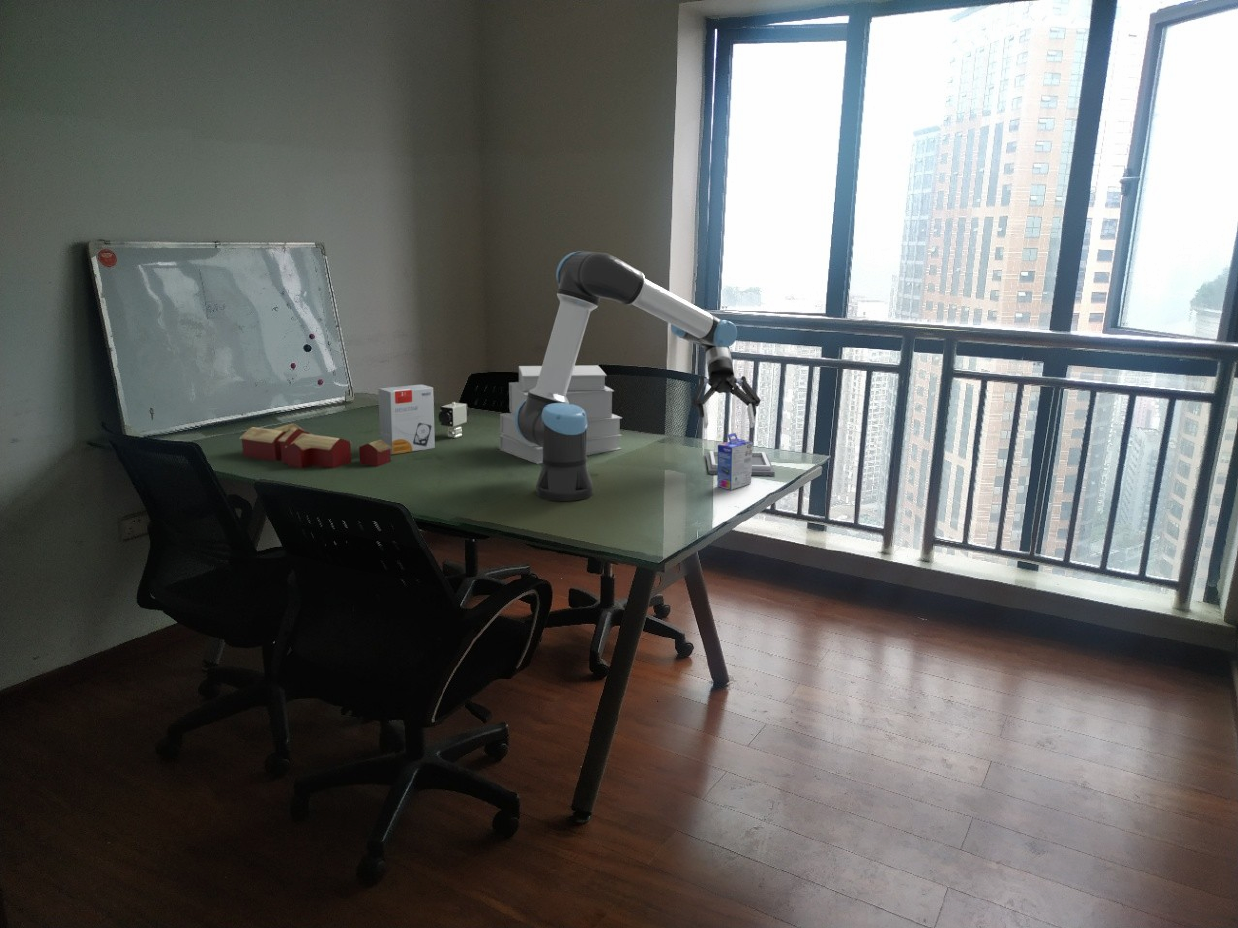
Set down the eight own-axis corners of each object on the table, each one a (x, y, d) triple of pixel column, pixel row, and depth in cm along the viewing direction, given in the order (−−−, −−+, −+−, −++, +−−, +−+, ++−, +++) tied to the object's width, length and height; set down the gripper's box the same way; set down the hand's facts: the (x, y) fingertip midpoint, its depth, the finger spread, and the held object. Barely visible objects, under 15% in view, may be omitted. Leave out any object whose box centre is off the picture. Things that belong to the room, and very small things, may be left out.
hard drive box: (391, 455, 267) (388, 392, 262) (380, 450, 273) (376, 388, 267) (436, 448, 277) (433, 386, 272) (424, 443, 283) (421, 383, 277)
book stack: (489, 448, 279) (487, 368, 272) (577, 434, 300) (577, 360, 293) (541, 468, 256) (540, 382, 249) (632, 451, 277) (633, 372, 271)
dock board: (708, 474, 252) (709, 466, 251) (706, 456, 272) (706, 448, 272) (774, 476, 251) (774, 468, 250) (766, 458, 271) (767, 450, 271)
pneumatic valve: (470, 434, 297) (469, 399, 294) (450, 441, 286) (449, 405, 283) (457, 432, 299) (456, 398, 296) (436, 439, 289) (435, 404, 286)
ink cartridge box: (735, 479, 247) (738, 430, 243) (752, 483, 243) (754, 433, 240) (715, 486, 240) (717, 435, 236) (731, 490, 236) (733, 439, 233)
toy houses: (236, 458, 262) (232, 426, 259) (286, 444, 280) (284, 414, 277) (354, 477, 244) (352, 442, 242) (400, 460, 262) (398, 428, 260)
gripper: (757, 372, 262) (768, 431, 252) (676, 372, 259) (684, 433, 249) (763, 357, 256) (775, 417, 245) (680, 357, 253) (688, 418, 242)
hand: (729, 425), depth 247 cm, fingers open, 13 cm apart
